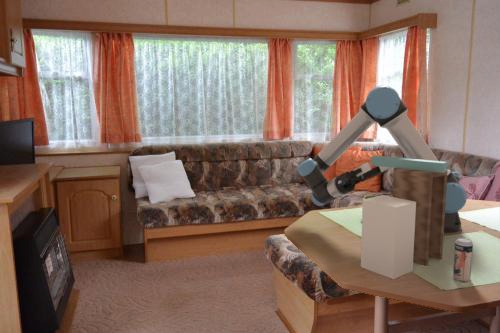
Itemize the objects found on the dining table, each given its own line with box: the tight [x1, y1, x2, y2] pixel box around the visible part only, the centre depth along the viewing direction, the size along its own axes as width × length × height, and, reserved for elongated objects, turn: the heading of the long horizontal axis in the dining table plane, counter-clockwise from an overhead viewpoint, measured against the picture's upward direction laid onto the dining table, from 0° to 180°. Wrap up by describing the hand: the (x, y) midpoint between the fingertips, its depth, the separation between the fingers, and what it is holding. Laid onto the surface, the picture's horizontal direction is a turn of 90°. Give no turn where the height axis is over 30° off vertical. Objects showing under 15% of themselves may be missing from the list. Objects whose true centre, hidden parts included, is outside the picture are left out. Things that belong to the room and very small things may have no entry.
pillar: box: [360, 194, 416, 280], centre depth 136 cm, size 12×10×22 cm
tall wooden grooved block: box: [392, 168, 448, 267], centre depth 144 cm, size 13×10×30 cm
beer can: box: [452, 237, 474, 282], centre depth 128 cm, size 5×5×12 cm
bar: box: [370, 155, 448, 173], centre depth 144 cm, size 24×4×3 cm, turn 48°
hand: (381, 163), depth 153 cm, fingers open, 13 cm apart
